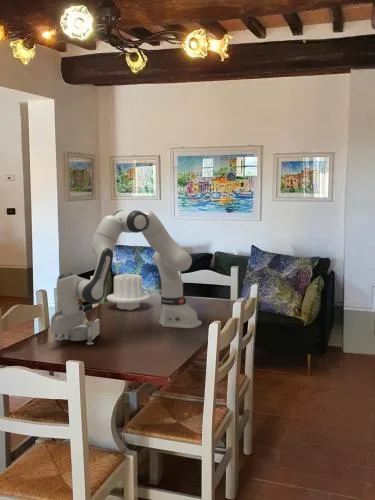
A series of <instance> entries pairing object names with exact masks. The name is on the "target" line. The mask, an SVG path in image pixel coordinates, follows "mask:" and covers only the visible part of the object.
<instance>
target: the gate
mask: <svg viewBox="0 0 375 500" xmlns="http://www.w3.org/2000/svg"><path fill="white" fill-rule="evenodd" d="M86 325H92V341H93V340H95V338H97V336H98V335H99V334H100V319H99V318H96V319H94V321H93V320H89V322H86Z"/></svg>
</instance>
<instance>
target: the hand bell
mask: <svg viewBox="0 0 375 500" xmlns="http://www.w3.org/2000/svg"><path fill="white" fill-rule="evenodd" d="M77 301H78V302H77V303H78V305H83V303H84V300H81V299H78V300H77ZM83 306H84V305H83ZM86 322H90V320H88V318H87V314H86V312H84V323H83V324H82V325H86Z"/></svg>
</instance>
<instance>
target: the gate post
mask: <svg viewBox="0 0 375 500" xmlns="http://www.w3.org/2000/svg"><path fill="white" fill-rule="evenodd" d="M86 340H87V342H85V344H86V345H89V346H90V345H94V342H93V340H92V325H87V339H86Z"/></svg>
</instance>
